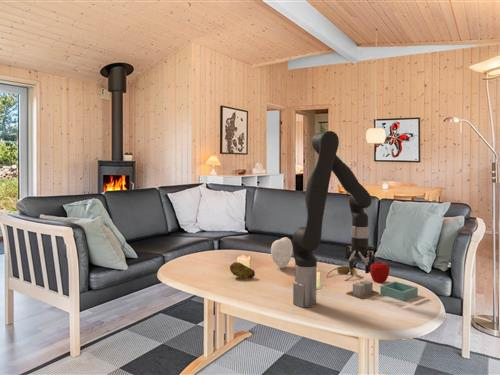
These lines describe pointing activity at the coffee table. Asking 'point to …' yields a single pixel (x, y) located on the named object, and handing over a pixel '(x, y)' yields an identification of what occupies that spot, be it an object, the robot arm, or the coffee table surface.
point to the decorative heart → (281, 252)
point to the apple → (379, 271)
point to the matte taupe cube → (359, 289)
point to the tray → (362, 296)
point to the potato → (242, 271)
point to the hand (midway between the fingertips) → (359, 270)
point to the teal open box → (399, 291)
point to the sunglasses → (345, 271)
